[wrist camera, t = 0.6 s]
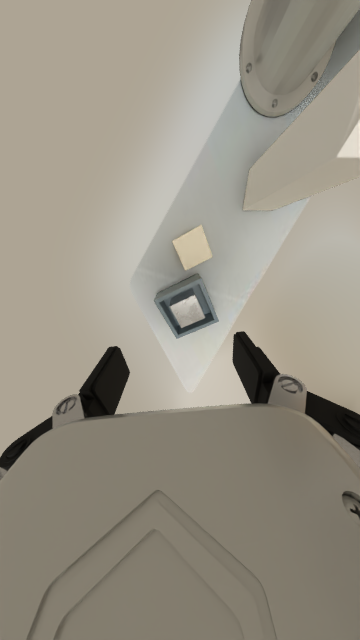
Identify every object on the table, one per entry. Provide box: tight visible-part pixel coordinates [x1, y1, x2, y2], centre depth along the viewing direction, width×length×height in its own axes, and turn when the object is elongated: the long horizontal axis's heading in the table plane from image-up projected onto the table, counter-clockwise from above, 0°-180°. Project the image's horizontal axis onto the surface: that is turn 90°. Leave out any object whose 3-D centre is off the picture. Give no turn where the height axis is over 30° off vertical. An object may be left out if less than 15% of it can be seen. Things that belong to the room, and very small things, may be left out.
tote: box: [154, 274, 219, 338], centre depth 34 cm, size 11×11×6 cm
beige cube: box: [172, 225, 212, 271], centre depth 28 cm, size 6×6×6 cm
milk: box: [243, 50, 360, 211], centre depth 17 cm, size 6×6×22 cm
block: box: [169, 289, 205, 328], centre depth 34 cm, size 6×6×5 cm
